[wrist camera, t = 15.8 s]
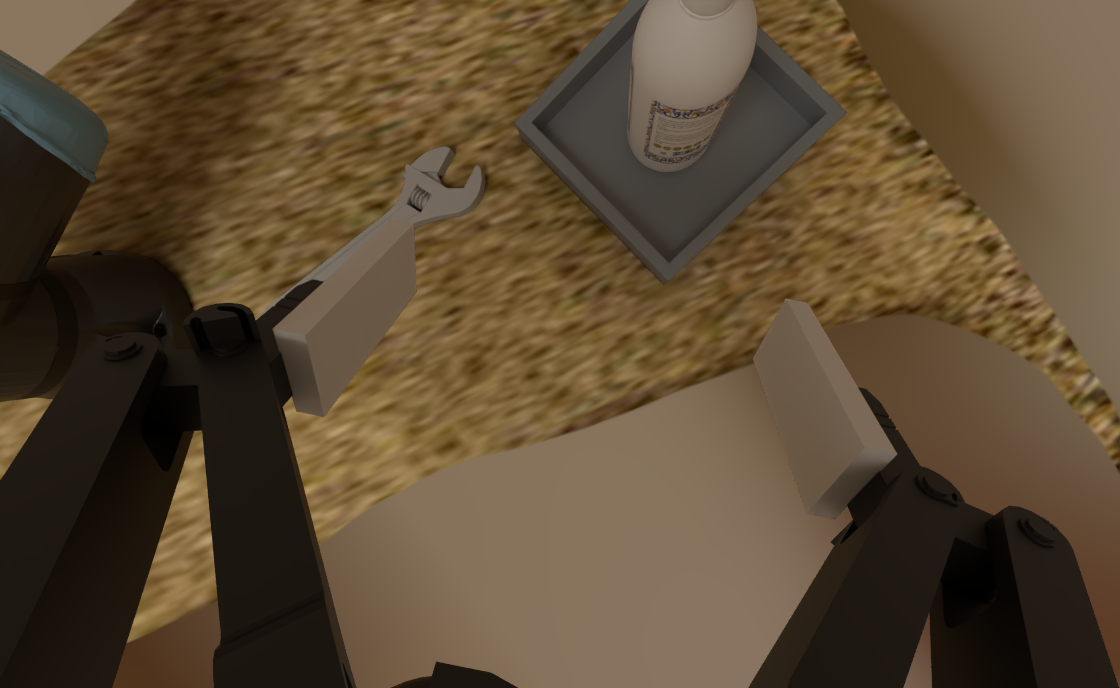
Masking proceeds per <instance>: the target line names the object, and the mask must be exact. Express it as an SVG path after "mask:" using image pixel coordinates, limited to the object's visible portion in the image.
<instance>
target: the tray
mask: <svg viewBox="0 0 1120 688" xmlns="http://www.w3.org/2000/svg"><path fill="white" fill-rule="evenodd" d="M648 1H649V0H631V1H630V2H629V3H628V4H627V5H626V6H625V7H624V8H623V9H622V10H621V11H620V12H619V13H618V14H617V15H616V16H615V17H614V18H613V20H612V21H611V22H610V23H609V24H608V25H607V26H606V27H605V28H604V29H603V30H602V31H601V32H600V33H599V34H598V35H597V36H596V37H595V39H594V40H593V41H592V42H591V43H590V44H589V45H588V46H587V47H586V48H585V49H584V50H583V51H582V52H581V53H580V54H579V55H578V56H577V57H576V59H575V60H574V61H573V62H572V63H571V64H570V65H569V66H568V67H567V68H566V69H565V70H564V71H563V72H562V73H561V74H560V75H559V76H558V77H557V79H556V80H555V81H554V82H553V83H552V84H551V85H550V86H549V87H548V88H547V89H546V90H545V91H544V92H543V93H542V94H541V95H540V96H539V97H538V99H537V100H536V101H535V102H534V103H533V104H532V105H531V106H530V107H529V108H528V109H527V110H526V111H525V112H524V113H523V114H522V115H521V116H520V117H519V119H518V120H517V121H516V122H515V125H516V127H517V129H518V131H519V133H520V135H521V137H522V139H523V141H524V142H525V143H526V144H527V145H528V146H529V147H530V148H531V149H532V150H533V151H534V152H535V153H536V154H537V155H538V156H539V157H540V158H541V159H542V160H543V161H544V162H545V163H546V164H547V166H548V167H549V168H550V169H551V170H552V171H553V172H554V173H555V174H556V175H557V176H558V177H559V178H560V179H561V180H562V181H563V182H564V183H565V184H566V185H567V186H568V187H569V188H570V189H571V190H572V191H573V192H574V193H575V194H576V195H577V196H578V197H579V198H580V199H581V200H582V201H583V202H584V204H585V205H586V206H587V207H588V208H589V209H590V210H591V211H592V212H593V213H594V214H595V215H596V216H597V217H598V218H599V219H600V220H601V221H602V222H603V223H604V224H605V225H606V226H607V227H608V228H609V229H610V230H611V231H612V232H613V233H614V234H615V235H616V236H617V237H618V238H619V239H620V240H621V242H622V243H623V244H624V245H625V246H626V247H627V248H628V249H629V250H630V251H631V252H632V253H633V254H634V255H635V256H636V257H637V258H638V259H639V260H640V261H641V262H642V263H643V264H644V265H645V266H646V267H647V268H648V269H649V270H650V271H651V272H652V273H653V274H654V275H655V276H656V277H657V278H658V279H659V281H660V282H661V283H662V284H663V285H665V284H666V283H667V282H668V281H669V280H670V279H671V278H672V277H673V276H674V275H676V274H677V273H678V272H679V271H680V270H681V269H682V268H683V267H684V266H685V265H686V264H687V263H688V262H689V261H690V260H691V259H692V258H694V257H695V256H696V255H697V254H698V253H699V252H700V251H701V250H702V249H703V248H704V247H705V246H706V245H707V244H708V243H709V242H710V241H712V240H713V239H714V238H715V237H716V236H717V235H718V234H719V233H720V232H721V231H722V230H723V229H724V228H725V227H726V226H727V225H728V224H729V223H731V222H732V221H733V220H734V219H735V218H736V217H737V216H738V215H739V214H740V213H741V212H742V211H743V210H744V209H745V208H746V207H747V206H749V205H750V204H751V203H752V202H753V201H754V200H755V199H756V198H757V197H758V196H759V195H760V194H761V193H762V192H763V191H764V190H765V189H767V188H768V187H769V186H770V185H771V184H772V183H773V182H774V181H775V180H776V179H777V178H778V177H779V176H780V175H781V174H782V173H783V172H784V171H786V170H787V169H788V168H789V167H790V166H791V165H792V164H793V163H794V162H795V161H796V160H797V159H798V158H799V157H800V156H801V155H802V154H804V153H805V152H806V151H807V150H808V149H809V148H810V147H811V146H812V145H813V144H814V143H815V142H816V141H817V140H818V139H819V138H820V137H822V136H823V135H824V134H825V133H826V132H827V131H828V130H829V129H830V128H831V127H832V126H833V125H834V124H835V123H836V122H837V121H838V120H839V119H841V118H842V117H843V116H844V115H845V114H846V113H847V112H846V111H845V110H844V109H843V108H842V107H841V106H840V105H839V104H838V103H837V102H836V101H835V100H834V99H833V98H832V97H831V96H830V95H829V94H828V93H827V92H826V91H825V90H824V89H823V88H822V87H821V86H820V85H818V84H817V83H816V82H815V81H814V80H813V79H812V78H811V77H810V76H809V75H808V74H807V73H806V72H805V71H804V70H803V69H802V68H801V67H800V66H799V65H798V64H797V63H796V62H795V61H794V60H793V59H792V58H791V57H790V56H789V55H787V54H786V53H785V52H784V51H783V50H782V49H781V48H780V47H779V46H778V45H777V44H776V43H775V42H774V41H773V40H772V39H771V38H770V37H769V36H768V35H767V34H766V33H765V32H764V31H763V30H762V29H761V28H760V27H759V26H757V37H756V43H755V48H754V53H753V56H752V59H751V63H750V66H749V68H748V71H747V73H746V75H745V77H744V79H743V80H742V82H741V84H740V86H739V88H738V90H737V92H736V94H735V96H734V98H733V100H732V102H731V104H730V106H729V108H728V109H727V111H726V113H725V115H724V117H723V119H722V121H721V123H720V125H719V127H718V129H717V131H716V133H715V135H714V137H713V138H712V140H711V142H710V144H709V146H708V147H707V149H706V151H705V152H704V154H703V155H702V156H701V157H700V158H699V159H698V160H697V161H696V162H695V163H693V164H692V165H690V166H689V167H687V168H685V169H682V170H679V171H675V172H660V171H656V170H653V169H650V168H648V167H646V166H645V165H643V164H642V163H641V162H640V161H639V160H638V159H637V158H636V157H635V155H634V154H633V152H632V150H631V148H630V145H629V142H628V136H627V125H628V103H629V86H630V69H631V52H632V43H633V38H634V34H635V31H636V27H637V24H638V21H639V19H640V16H641V14H642V12H643V10H644V8H645V6H646V4H647V2H648Z"/></svg>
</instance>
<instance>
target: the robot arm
mask: <svg viewBox="0 0 1120 688" xmlns="http://www.w3.org/2000/svg"><path fill="white" fill-rule="evenodd" d="M107 143H108V133H107V130H106V127H105V125H104V124H103V122H102V121H101V119H100V118H99V117H98V116H97V115H96V114H95V113H94V112H93V111H92V110H91V109H90V108H88V107H87V106H86V105H85V104H83V103H82V102H81V101H79V100H78V99H77V98H75V97H74V96H72V95H71V94H69V93H68V92H66V91H65V90H63V89H62V88H60V87H59V86H57V85H56V84H54V83H53V82H51V81H50V80H48V79H46V78H45V77H43V76H42V75H40V74H39V73H37V72H35V71H34V70H32V69H31V68H29V67H28V66H26V65H24V64H23V63H21V62H20V61H18V60H16V59H15V58H13V57H11V56H10V55H8V54H6V53H5V52H3V51H2V50H0V402H4V401H10V400H19V399H27V398H36V397H38V398H46V399H53V401H52V402H51V404H50V405H49V407H48V408H47V410H46V411H45V413H44V414H43V416H42V418H41V419H40V421H39V422H38V424H37V425H36V427H35V428H34V430H33V431H32V433H31V434H30V436H29V437H28V439H27V441H26V442H25V444H24V445H23V447H22V448H21V450H20V451H19V453H18V454H17V456H16V457H15V459H14V460H13V462H12V464H11V465H10V467H9V468H8V470H7V471H6V473H5V474H4V476H3V477H2V479H1V480H0V688H112V687H113V683H114V680H115V677H116V674H117V670H118V668H119V664H120V661H121V658H122V655H123V652H124V649H125V646H126V643H127V640H128V636H129V633H130V630H131V627H132V624H133V621H134V618H135V615H136V611H137V608H138V605H139V602H140V599H141V596H142V593H143V590H144V586H145V583H146V580H147V577H148V574H149V571H150V568H151V564H152V561H153V558H154V555H155V552H156V549H157V546H158V543H159V539H160V536H161V533H162V530H163V527H164V524H165V521H166V518H167V514H168V511H169V508H170V505H171V502H172V499H173V496H174V493H175V489H176V486H177V483H178V480H179V477H180V474H181V471H182V467H183V464H184V461H185V458H186V455H187V452H188V449H189V446H190V442H191V439H192V436H193V433H194V431H199V430H202V434H203V444H204V455H205V466H206V477H207V488H208V499H209V509H210V520H211V531H212V542H213V553H214V564H215V574H216V585H217V596H218V607H219V617H220V627H221V628H220V629H221V641H220V645H219V646H218V647H217V648H216V650H215V652H214V658H213V679H214V688H356V685H355V681H354V678H353V674H352V671H351V667H350V664H349V660H348V657H347V653H346V649H345V646H344V642H343V638H342V634H341V630H340V627H339V623H338V619H337V615H336V611H335V607H334V603H333V599H332V595H331V591H330V588H329V584H328V580H327V576H326V572H325V568H324V564H323V561H322V557H321V553H320V549H319V545H318V541H317V537H316V533H315V530H314V526H313V522H312V518H311V514H310V510H309V506H308V502H307V499H306V495H305V491H304V487H303V483H302V479H301V475H300V471H299V468H298V464H297V460H296V456H295V452H294V448H293V444H292V440H291V437H290V433H289V429H288V425H287V421H286V417H285V414H284V410H283V406H284V404H285V403H286V402H287V401H288V400H289V399H290V397H291V396H292V398H293V402H294V405H295V408H296V411H297V412H302V413H307V414H312V415H317V416H322V417H325V415H326V414H327V413H328V411H329V410H330V409H331V407H332V406H333V405H334V403H335V402H336V400H337V399H338V398H339V396H340V395H341V394H342V392H343V391H344V390H345V388H346V387H347V385H348V384H349V383H350V381H351V380H352V379H353V377H354V376H355V375H356V373H357V372H358V370H359V369H360V368H361V366H362V365H363V364H364V362H365V361H366V360H367V358H368V357H369V356H370V354H371V353H372V351H373V350H374V349H375V347H376V346H377V345H378V343H379V342H380V341H381V339H382V338H383V336H384V335H385V334H386V332H387V331H388V330H389V328H390V327H391V326H392V324H393V323H394V322H395V320H396V319H397V317H398V316H399V315H400V313H401V312H402V311H403V309H404V308H405V307H406V305H407V304H408V302H409V301H410V300H411V298H412V297H413V296H414V294H415V293H416V292H417V290H416V267H415V244H414V224H412V223H407V222H402V221H397V220H391V221H390V222H389V223H388V224H387V225H385V226H384V227H383V228H382V229H381V230H380V231H379V232H378V233H377V234H376V235H375V236H373V237H372V238H371V239H370V240H369V241H368V242H367V243H366V244H365V245H364V246H363V247H361V248H360V249H359V250H358V251H357V252H356V253H355V254H354V255H353V256H352V257H351V258H349V259H348V260H347V261H346V262H345V263H344V264H343V265H342V266H341V267H340V268H339V269H337V270H336V271H335V272H334V273H333V274H332V275H331V276H330V277H329V278H328V279H327V280H325V281H319V280H314V279H312V280H310V281H307V282H305V283H303V284H300V285H298V286H296V287H295V288H294V289H292V290H291V291H290V292H289V293H288V294H287V295H285V297H284V298H282V299H281V300H279V301H278V302H277V303H276V304H275V306H272V307H271V308H270V309H269V310H268V311H267V312H265V313H264V314H263V315H262V316H261V317H260V318H258V319H257V320H256V321H255V317H254V314H253V312H252V311H251V310H250V308H248V307H246V306H244V305H242V304H235V303H220V304H214V305H210V306H205V307H202V308H200V309H198V310H196V311H194V312H192V310H191V306H190V303H189V300H188V298H187V296H186V293H185V292H184V290H183V288H182V286H181V285H180V283H179V282H178V280H177V279H176V278H175V277H174V276H173V275H172V274H171V272H170V271H168V270H167V269H166V268H165V267H164V266H162V265H161V264H159V263H158V262H156V261H154V260H153V259H150V258H148V257H145V256H142V255H138V254H133V253H126V252H119V251H112V250H95V251H88V252H83V253H80V254H77V255H60V256H52V257H51V255H52V253H53V251H54V249H55V247H56V245H57V243H58V242H59V240H60V238H61V236H62V234H63V232H64V230H65V228H66V227H67V225H68V223H69V221H70V219H71V217H72V215H73V213H74V211H75V210H76V208H77V206H78V204H79V202H80V200H81V198H82V196H83V195H84V193H85V191H86V189H87V187H88V185H89V183H90V182H93V183H94V182H95V180H96V175H95V170H96V168H97V166H98V164H99V162H100V159H101V157H102V155H103V153H104V150H105V148H106V146H107ZM192 348H193V349H192ZM753 361H754V364H755V366H756V369H757V372H758V375H759V378H760V381H761V384H762V387H763V390H764V393H765V395H766V398H767V401H768V404H769V407H770V410H771V413H772V416H773V419H774V421H775V424H776V427H777V430H778V433H779V436H780V439H781V442H782V445H783V447H784V450H785V453H786V456H787V459H788V462H789V465H790V468H791V471H792V473H793V476H794V479H795V482H796V485H797V488H798V491H799V494H800V496H801V499H802V502H803V505H804V508H805V511H806V513H807V514H810V515H815V516H821V517H825V518H831V519H836V517H837V516H838V515H839V514H840V513H841V512H842V511H843V510H844V509H845V508H846V507H847V506H848V508H849V510H850V513H851V515H852V518H853V520H852V521H851V522H850V523H849V524H848V525H847V526H846V527H845V528H844V529H843V530H842V531H841V532H840V533H839V534H838V535H837V536H836V537H835V538H834V539H833V540H832V541H831V543H832V544H833V545H835V546H834V547H833V549H832V551H831V552H830V554H829V555H828V557H827V559H826V561H825V562H824V564H823V565H822V567H821V569H820V570H819V572H818V574H817V575H816V577H815V579H814V580H813V582H812V584H811V585H810V587H809V588H808V590H807V592H806V593H805V595H804V597H803V598H802V600H801V602H800V603H799V605H798V607H797V608H796V610H795V612H794V613H793V615H792V617H791V618H790V620H789V621H788V623H787V625H786V626H785V628H784V630H783V631H782V633H781V635H780V636H779V638H778V640H777V641H776V643H775V645H774V646H773V648H772V650H771V651H770V653H769V655H768V656H767V658H766V660H765V661H764V663H763V664H762V666H761V668H760V669H759V671H758V673H757V674H756V676H755V678H754V679H753V681H752V683H751V684H750V686H749V688H903V687H904V684H905V681H906V678H907V675H908V672H909V669H910V666H911V663H912V661H913V658H914V655H915V652H916V649H917V646H918V643H919V640H920V637H921V634H922V631H923V629H924V626H925V623H926V620H927V617H928V614H929V612H930V637H931V639H930V640H931V668H932V688H1119V687H1118V683H1117V680H1116V678H1115V674H1114V672H1113V668H1112V665H1111V662H1110V659H1109V656H1108V653H1107V651H1106V648H1105V644H1104V641H1103V639H1102V635H1101V632H1100V629H1099V626H1098V623H1097V620H1096V617H1095V615H1094V611H1093V608H1092V605H1091V602H1090V599H1089V596H1088V593H1087V590H1086V587H1085V584H1084V581H1083V578H1082V575H1081V572H1080V569H1079V566H1078V563H1077V560H1076V557H1075V554H1074V551H1073V549H1072V547H1071V545H1070V543H1069V542H1068V540H1067V539H1066V538H1065V537H1064V536H1063V535H1062V533H1061V532H1059V530H1058V529H1057V528H1056V527H1055V526H1054V525H1053V524H1050V522H1049V521H1047V520H1045V519H1044V518H1043V517H1040V516H1039V515H1037V514H1035V513H1033V512H1032V511H1029V510H1026V509H1024V508H1021V507H1016V506H1008V507H1006V508H1004V509H1003V510H1001V511H1000V512H999V513H997V514H996V515H995V516H994V515H991V514H989V513H987V512H985V511H982V510H980V509H978V508H975V507H973V506H971V505H969V504H966V503H964V499H963V498H962V496H961V494H960V492H959V491H958V490H957V489H956V488H955V487H954V486H953V485H952V484H951V483H950V482H949V481H948V480H947V479H945V478H944V477H942V476H941V475H940V474H938V473H936V472H934V471H932V470H930V469H928V468H925V467H921V466H920V465H919V463H918V462H917V460H916V458H915V457H914V455H913V454H912V452H911V450H910V449H909V447H908V446H907V444H906V443H905V441H904V439H903V438H902V436H901V435H900V433H899V431H898V430H896V429H895V428H896V427H895V425H894V423H893V422H892V420H891V419H889V418H888V417H889V415H888V414H887V412H886V411H885V409H884V407H883V406H882V404H881V403H880V402H879V401H878V400H877V399H876V398H875V397H874V396H873V395H872V394H871V393H870V392H868V390H866V389H864V388H859V387H857V385H856V384H855V382H854V380H853V379H852V377H851V376H850V374H849V372H848V370H847V368H846V367H845V365H844V363H843V362H842V360H841V358H840V357H839V355H838V353H837V352H836V350H835V349H834V347H833V345H832V343H831V342H830V340H829V338H828V336H827V335H826V333H825V331H824V330H823V328H822V326H821V325H820V323H819V321H818V320H817V318H816V316H815V315H814V313H813V311H812V309H811V308H810V306H809V304H808V303H806V302H801V301H796V300H791V299H785V301H784V302H783V304H782V306H781V308H780V310H779V312H778V313H777V315H776V317H775V319H774V321H773V323H772V325H771V326H770V328H769V330H768V332H767V334H766V336H765V337H764V339H763V341H762V343H761V345H760V347H759V348H758V350H757V352H756V354H755V356H754V358H753ZM392 688H517V687H516V686H514V685H512V684H510V683H509V682H507V681H505V680H503V679H501V678H500V677H498V676H496V675H494V674H492V673H489V672H485V671H480V670H474V669H470V668H465V667H460V666H455V665H450V664H445V663H440V662H436V664H435V668H434V671H433V674H432V676H429V677H420V678H417V679H413V680H410V681H406V682H403V683H401V684H399V685H396V686H394V687H392Z"/></svg>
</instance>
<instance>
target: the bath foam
mask: <svg viewBox="0 0 1120 688" xmlns="http://www.w3.org/2000/svg"><path fill="white" fill-rule="evenodd" d="M756 37H757V15H756V8H755V5H754V1H753V0H649V1H648V2H647V4H646V6H645V8H644V10H643V12H642V14H641V16H640V19H639V21H638V24H637V27H636V31H635V34H634V38H633V43H632V52H631V69H630V86H629V103H628V125H627V136H628V142H629V145H630V148H631V150H632V152H633V154H634V155H635V157H636V158H637V159H638V160H639V161H640V162H641V163H642V164H643V165H645V166H646V167H648V168H650V169H653V170H656V171H660V172H675V171H679V170H682V169H685V168H687V167H689V166H690V165H692V164H693V163H695V162H696V161H697V160H698V159H699V158H700V157H701V156H702V155H703V154H704V152H705V151H706V149H707V147H708V146H709V144H710V142H711V140H712V138H713V137H714V135H715V133H716V131H717V129H718V127H719V125H720V123H721V121H722V119H723V117H724V115H725V113H726V111H727V109H728V108H729V106H730V104H731V102H732V100H733V98H734V96H735V94H736V92H737V90H738V88H739V86H740V84H741V82H742V80H743V79H744V77H745V75H746V73H747V71H748V68H749V66H750V63H751V59H752V56H753V53H754V48H755V43H756Z"/></svg>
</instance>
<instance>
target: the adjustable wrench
mask: <svg viewBox="0 0 1120 688" xmlns="http://www.w3.org/2000/svg"><path fill="white" fill-rule="evenodd" d="M454 156H455V153H454V152H453V151H452V150H451V149H450V148H448V147H447V146H444V147H439V148H435V149H432V150H430V151H428V152H426V153H424V154H423V155H422V156H420V157H419V158H418V159H417V160H416V161H415V162H414V163H413V164H412V165H411V166H412V167H411V166H410V165H408V164H407V163H406V166H405V169H406V171H405V172H404V174H403V178H404V179H406V180H405V184H404V187H403V190H402V193H401V196H400V198H399V200H398V201H397V203H396V204H395V205H394V206H393V207H392V208H391V209H390V210H389V211H388V212H387V213H386V214H385V215H383V216H382V217H381V218H380V219H378V220H377V221H376V222H374V223H373V224H372V225H371V226H369V227H368V228H367V229H366V230H364V231H363V232H362V233H361V234H359V235H358V236H357V237H355V238H354V239H353V240H352V241H350V242H349V243H348V244H347V245H345V246H344V247H343V248H342V249H340V250H339V251H338V252H336V253H335V254H334V255H333V256H331V257H330V258H329V259H328V260H326V261H325V262H324V263H322V264H321V265H320V266H319V267H317V268H316V269H315V270H314V271H312V272H311V273H310V274H309V275H307V276H306V277H305V278H303V279H302V280H301V281H300V282H298V283H297V284H296V285H295V286H293V287H292V288H291V289H290V290H288V291H287V292H286V293H284V294H283V295H282V296H281V297H279V298H278V299H277V300H276V301H274V302H273V303H272V304H271V305H269V306H268V307H267V308H266V309H265V311H264V313H265V312H267V311H268V310H269V309H270V308H271V307H272V306H275V304H276V303H277V302H278V301H279V300H281V299H282V298H284V297H285V295H287V294H288V293H289V292H290V291H291V290H292V289H294V288H295V287H296V286H298V285H300V284H303V283H305V282H307V281H310V280H312V279H314V280H319V281H325V280H327V279H328V278H329V277H330V276H331V275H332V274H333V273H334V272H335V271H336V270H337V269H339V268H340V267H341V266H342V265H343V264H344V263H345V262H346V261H347V260H348V259H349V258H351V257H352V256H353V255H354V254H355V253H356V252H357V251H358V250H359V249H360V248H361V247H363V246H364V245H365V244H366V243H367V242H368V241H369V240H370V239H371V238H372V237H373V236H375V235H376V234H377V233H378V232H379V231H380V230H381V229H382V228H383V227H384V226H385V225H387V224H388V223H389V222H390V221H391V220H397V221H402V222H407V223H412V224H414V228H416V227H419V226H421V225H424V224H427V223H430V222H434V221H438V220H442V219H447V218H453V217H459V216H463V215H466V214H467V213H469V212H471V211H472V210H474V209H475V208H476V206H477V205H478V204H479V202H480V201H481V199H482V197H483V194H484V190H485V185H486V181H485V174H484V172H483V171H482V170H481V169H480V168H479V167H478V166H477V165H476V167H475V169H474V170H473V172H472V174H471V176H470V177H469V179H468V181H467V183H466V185H465V186H464V188H446V187H444V186H443V184H442V182H441V180H440V177H439V176H444V174H445V172H446V170H447V168H448V167H449V165H450V163H451V161H452V160H453V158H454ZM413 205H414V206H416V207H417V208H419V209H420V210H422V211H421V212H419V211H418V210H416V209H414V208H413V207H412V206H413ZM264 313H263V314H264Z"/></svg>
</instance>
